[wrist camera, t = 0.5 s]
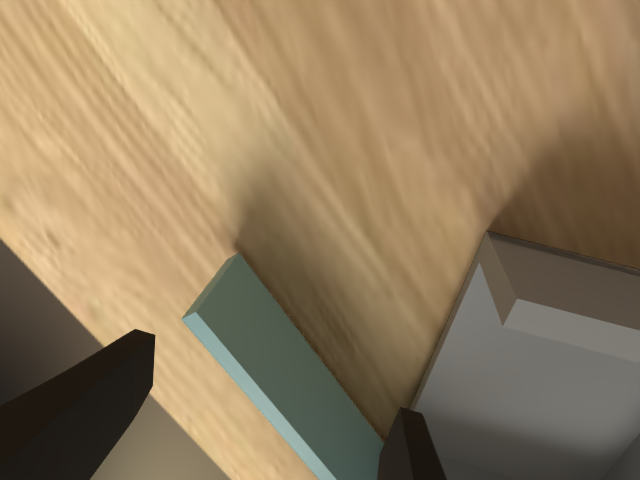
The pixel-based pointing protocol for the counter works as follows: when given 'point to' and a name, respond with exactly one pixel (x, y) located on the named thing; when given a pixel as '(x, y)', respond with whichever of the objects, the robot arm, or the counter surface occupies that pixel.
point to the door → (283, 374)
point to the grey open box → (537, 368)
